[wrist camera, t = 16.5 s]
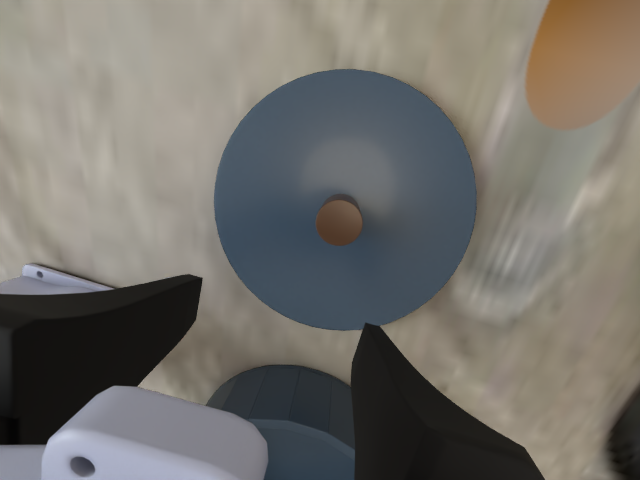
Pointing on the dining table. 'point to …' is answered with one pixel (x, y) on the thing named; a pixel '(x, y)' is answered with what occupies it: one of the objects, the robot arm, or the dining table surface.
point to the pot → (295, 420)
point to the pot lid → (345, 199)
